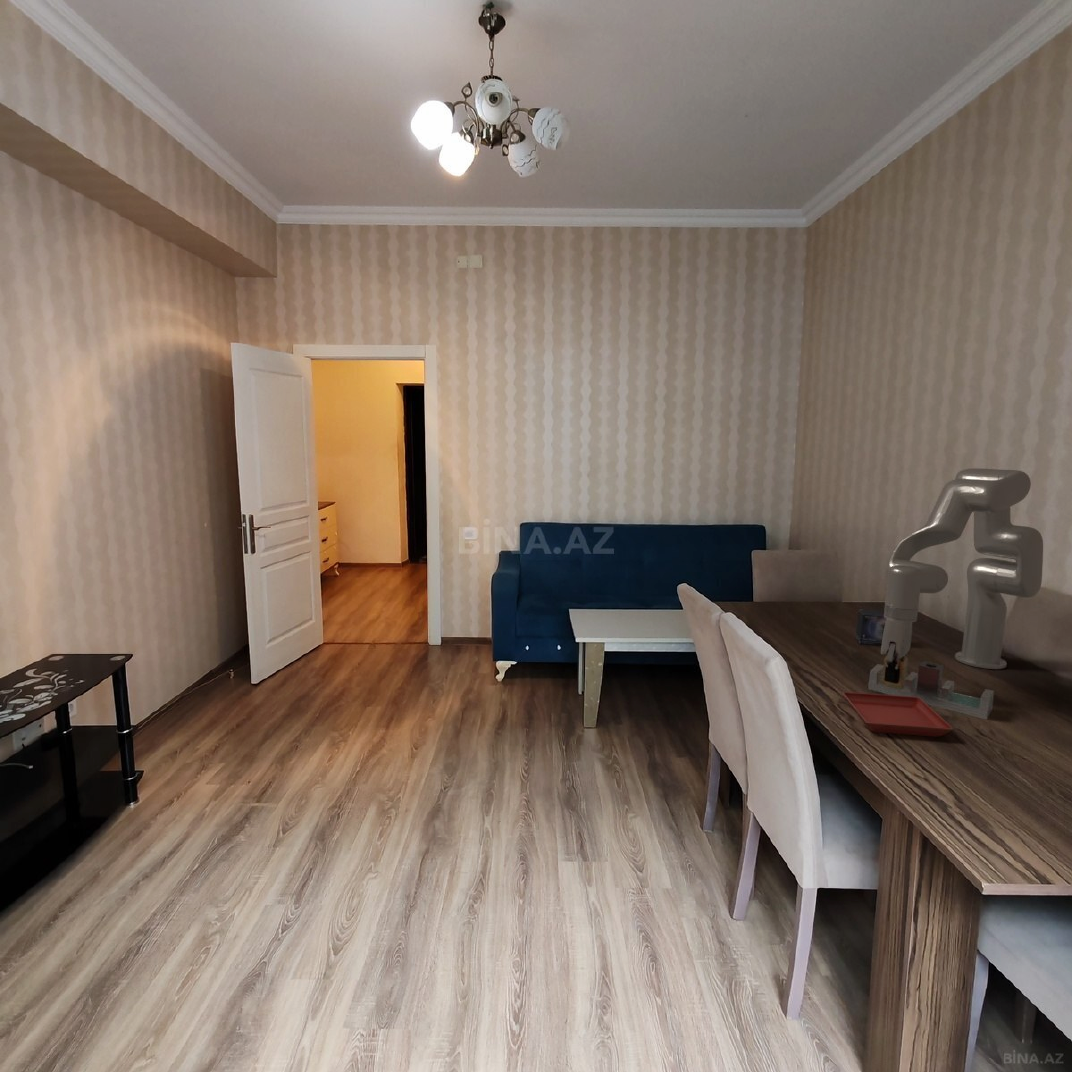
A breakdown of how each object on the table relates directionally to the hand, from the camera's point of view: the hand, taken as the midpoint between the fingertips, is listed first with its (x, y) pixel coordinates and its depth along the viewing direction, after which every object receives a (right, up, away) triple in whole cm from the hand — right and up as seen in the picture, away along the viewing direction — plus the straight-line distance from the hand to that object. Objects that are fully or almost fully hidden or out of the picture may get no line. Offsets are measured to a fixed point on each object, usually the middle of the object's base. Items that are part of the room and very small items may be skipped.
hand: (894, 678), depth 164 cm
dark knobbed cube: (+6, -2, -5) cm, 8 cm away
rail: (+6, -4, -5) cm, 9 cm away
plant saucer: (-10, -6, -17) cm, 21 cm away
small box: (+16, +2, +39) cm, 42 cm away
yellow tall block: (0, -1, 0) cm, 1 cm away
